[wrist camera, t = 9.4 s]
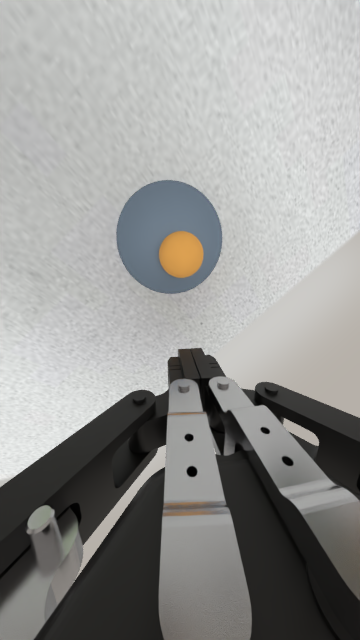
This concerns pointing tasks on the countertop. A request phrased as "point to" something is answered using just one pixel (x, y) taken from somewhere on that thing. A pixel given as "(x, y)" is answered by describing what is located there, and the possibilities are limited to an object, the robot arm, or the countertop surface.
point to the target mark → (166, 233)
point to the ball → (181, 254)
